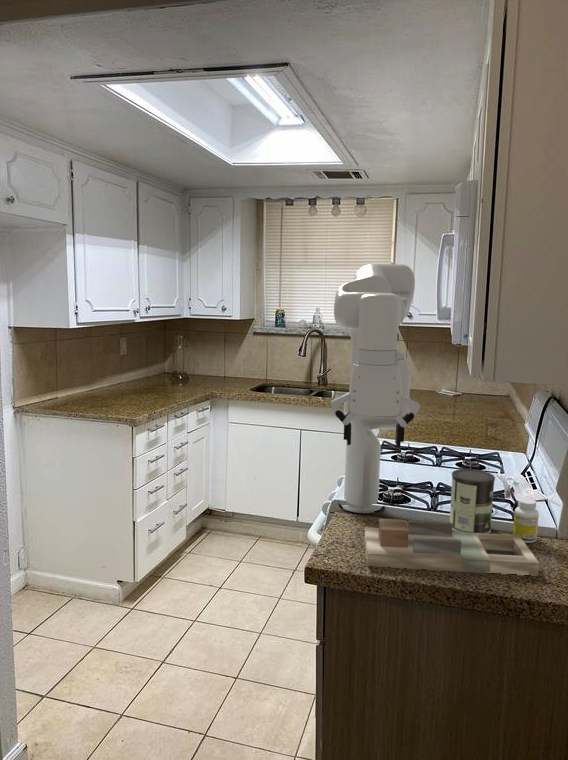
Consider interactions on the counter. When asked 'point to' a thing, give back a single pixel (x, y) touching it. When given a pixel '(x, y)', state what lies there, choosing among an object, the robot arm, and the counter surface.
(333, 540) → the counter surface
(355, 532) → the counter surface
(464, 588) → the counter surface
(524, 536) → the supplement bottle
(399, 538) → the walnut block
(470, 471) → the coffee can
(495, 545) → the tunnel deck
